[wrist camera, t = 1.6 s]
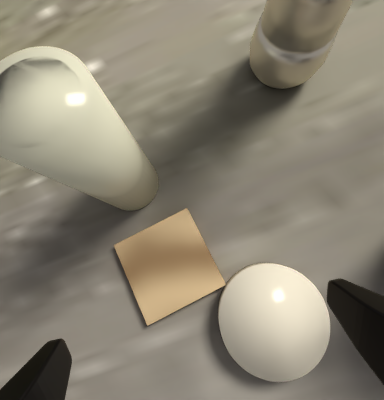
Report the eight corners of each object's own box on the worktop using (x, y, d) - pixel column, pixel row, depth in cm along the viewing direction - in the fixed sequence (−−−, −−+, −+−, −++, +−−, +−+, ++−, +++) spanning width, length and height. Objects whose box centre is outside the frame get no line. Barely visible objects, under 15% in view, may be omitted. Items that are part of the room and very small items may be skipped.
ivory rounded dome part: (275, 395, 17) (281, 409, 16) (197, 315, 19) (196, 321, 17) (341, 313, 18) (353, 319, 17) (262, 242, 20) (266, 242, 18)
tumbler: (131, 222, 21) (22, 187, 8) (94, 185, 22) (-53, 106, 9) (170, 182, 21) (120, 94, 9) (132, 147, 22) (40, 25, 10)
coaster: (225, 283, 19) (225, 284, 19) (149, 323, 19) (147, 325, 18) (187, 209, 21) (187, 208, 20) (116, 245, 20) (113, 245, 20)
